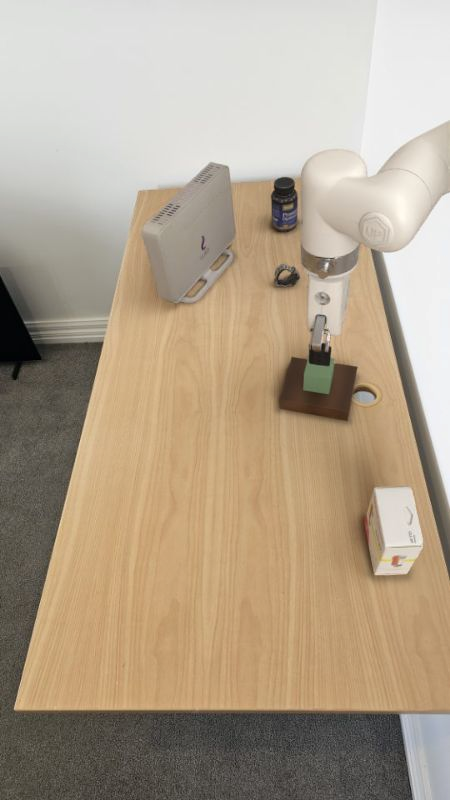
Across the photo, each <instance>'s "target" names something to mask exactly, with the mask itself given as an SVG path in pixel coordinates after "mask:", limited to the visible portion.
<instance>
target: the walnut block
mask: <svg viewBox="0 0 450 800" xmlns="http://www.w3.org/2000/svg"><path fill="white" fill-rule="evenodd" d="M307 360H308V358H305V357H303V358H302V357H297V356H291V358H290V362H289V364H288V368H287V372H286V376H285V379H284V382H283V386H282V389H281V393H280V395H279V396H280V397H279V409H280V410H283V411H289V412H295V413H301V414H308V415H312V416H318V417H324V418H329V419H335V420H341V421H346V422H347V421H349V416H350V411H351V406H352V400H353V394H354V388H355V383H356V377H357V372H358V366H356V365H349V364H343V363H337V362H335V363H334V372H333V378H332V383H331V387H330V392H329V394H324V393H318V392H312V391H306V390H303V384H304V372H305V368H306V364H307Z"/></svg>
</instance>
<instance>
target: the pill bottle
mask: <svg viewBox="0 0 450 800" xmlns="http://www.w3.org/2000/svg"><path fill="white" fill-rule="evenodd" d="M295 187H296V182H295V180H294V179H293V177H289V176H281V177H278V178H276V179H275V180H274V182H273V191H272V192H271V195H270V203H271V204H270V207H271V226H272V228H273V229H274V230H275V231H278V232H280V233H286V232H290V231H293V230H294V229H295V228H296V227H297V225H298V200H299V199H298V197H299V194H298V191H297V189H295Z"/></svg>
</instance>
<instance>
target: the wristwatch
mask: <svg viewBox="0 0 450 800" xmlns="http://www.w3.org/2000/svg"><path fill="white" fill-rule="evenodd" d="M284 271H288V272H289V273H290V274H289V275H288V277H285V278H284V279H279V278H280V275H281V274H282V273H283V272H284ZM300 279H301V276H300V271H299V270H298V269H297V267H296V266H295V265H292V266H291V265H289V264H286V263H281V264H279V265H278V266H277V267H276V268H275V270H274V278H273V282H274V284H275V285H276V286H277V287H284V288H287V287H292V286H295V285H296V284H297V283H298V282H299V281H300Z"/></svg>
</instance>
